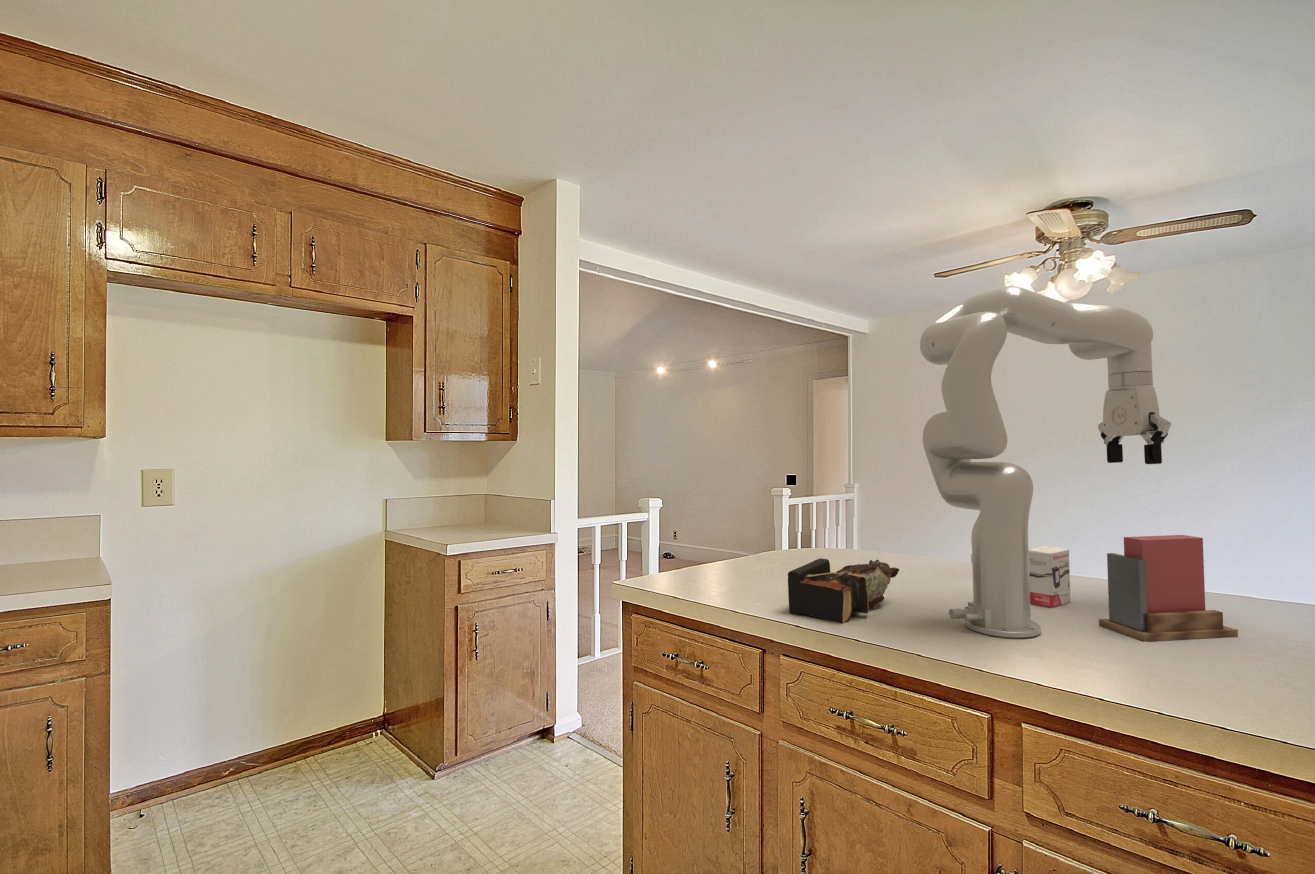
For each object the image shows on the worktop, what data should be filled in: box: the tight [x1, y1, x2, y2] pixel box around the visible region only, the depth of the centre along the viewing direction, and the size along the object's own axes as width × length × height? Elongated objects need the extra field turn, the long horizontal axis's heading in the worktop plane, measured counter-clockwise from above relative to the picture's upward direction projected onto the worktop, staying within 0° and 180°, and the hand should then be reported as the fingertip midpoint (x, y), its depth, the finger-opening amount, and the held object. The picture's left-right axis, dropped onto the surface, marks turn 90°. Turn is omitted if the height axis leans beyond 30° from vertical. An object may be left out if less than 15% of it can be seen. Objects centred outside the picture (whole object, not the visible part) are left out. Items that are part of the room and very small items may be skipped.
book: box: [1123, 534, 1206, 613], centre depth 115 cm, size 12×4×16 cm, turn 95°
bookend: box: [787, 557, 900, 624], centre depth 136 cm, size 15×11×25 cm
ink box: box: [1029, 545, 1071, 609], centre depth 137 cm, size 8×5×12 cm, turn 123°
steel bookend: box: [1106, 552, 1147, 632], centre depth 115 cm, size 1×7×14 cm, turn 5°
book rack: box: [1098, 609, 1239, 642], centre depth 115 cm, size 18×10×4 cm, turn 95°
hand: (1133, 463), depth 132 cm, fingers open, 9 cm apart
